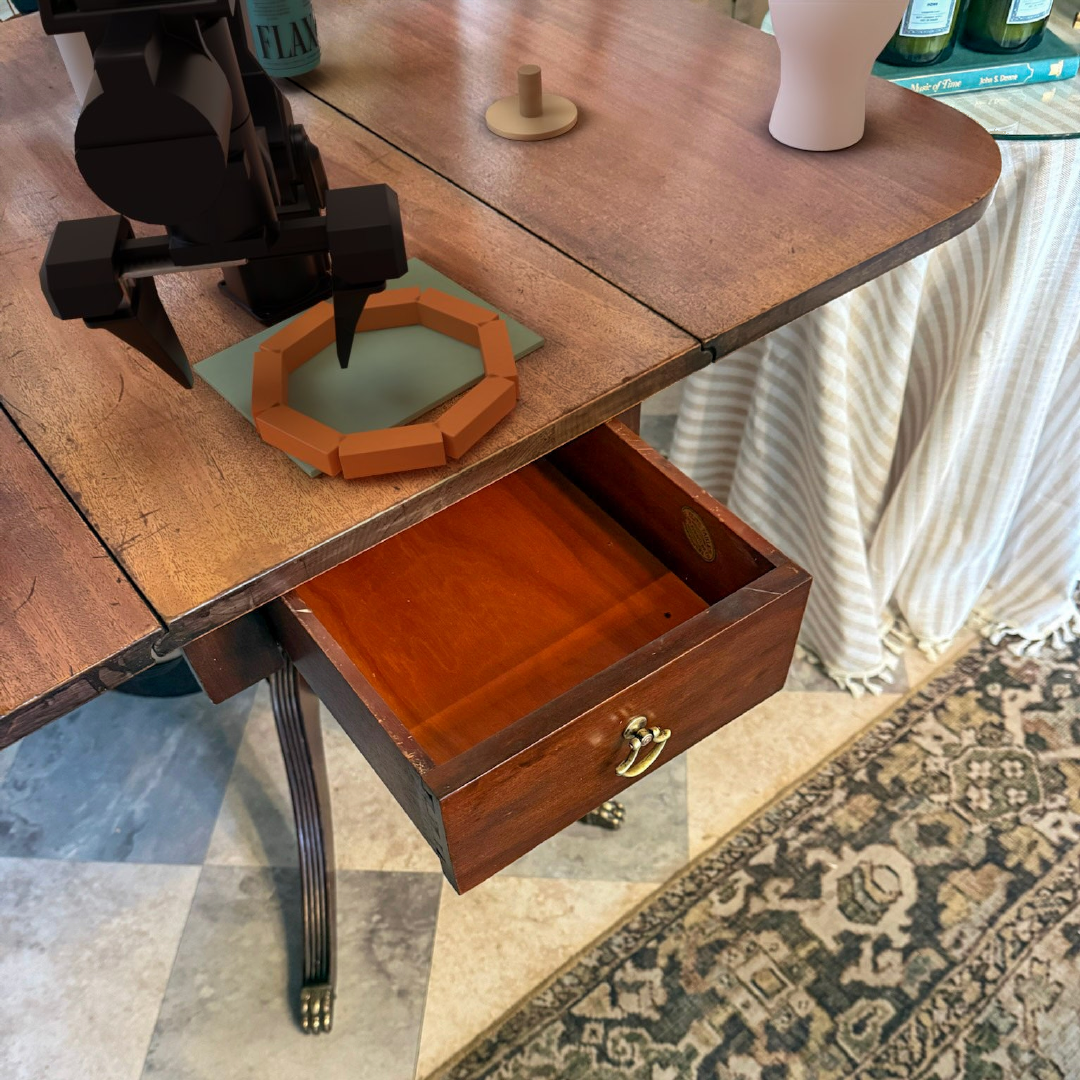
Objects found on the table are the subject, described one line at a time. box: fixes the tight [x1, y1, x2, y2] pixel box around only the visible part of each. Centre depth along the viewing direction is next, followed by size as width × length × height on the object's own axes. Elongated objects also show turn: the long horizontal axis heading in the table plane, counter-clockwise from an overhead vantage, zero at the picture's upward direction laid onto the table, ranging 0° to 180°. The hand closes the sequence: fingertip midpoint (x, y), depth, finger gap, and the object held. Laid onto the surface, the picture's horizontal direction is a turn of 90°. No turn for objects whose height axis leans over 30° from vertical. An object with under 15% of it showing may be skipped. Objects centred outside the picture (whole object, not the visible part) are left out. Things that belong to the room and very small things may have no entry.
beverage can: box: [53, 32, 94, 108], centre depth 89 cm, size 5×5×12 cm
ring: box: [251, 286, 521, 480], centre depth 62 cm, size 16×16×2 cm
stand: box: [484, 64, 578, 142], centre depth 86 cm, size 8×8×4 cm
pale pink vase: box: [767, 0, 911, 152], centre depth 78 cm, size 11×11×15 cm
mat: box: [192, 256, 545, 479], centre depth 65 cm, size 18×14×1 cm
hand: (267, 374), depth 60 cm, fingers open, 9 cm apart
